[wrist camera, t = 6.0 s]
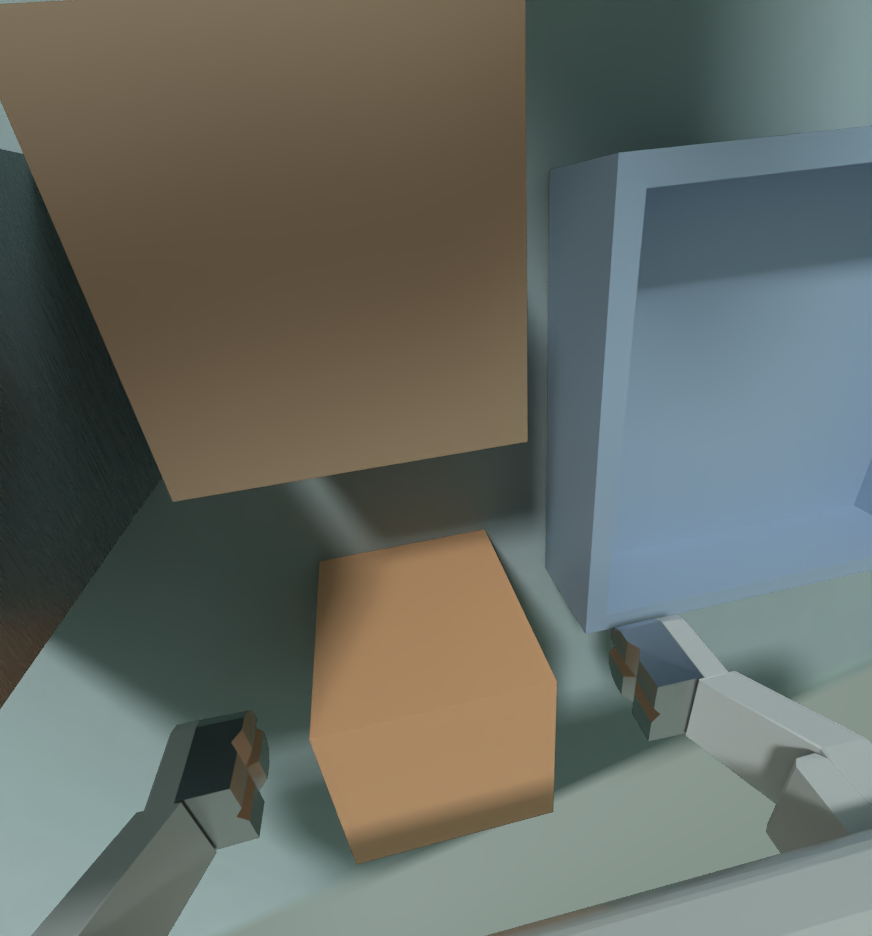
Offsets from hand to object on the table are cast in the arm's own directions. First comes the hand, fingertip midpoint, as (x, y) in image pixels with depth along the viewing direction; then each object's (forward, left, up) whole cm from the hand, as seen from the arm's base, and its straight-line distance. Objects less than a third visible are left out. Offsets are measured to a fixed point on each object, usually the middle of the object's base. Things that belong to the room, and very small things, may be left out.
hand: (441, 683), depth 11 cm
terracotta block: (-1, 0, -3) cm, 3 cm away
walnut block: (+9, +1, -3) cm, 9 cm away
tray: (+5, -9, -3) cm, 10 cm away
